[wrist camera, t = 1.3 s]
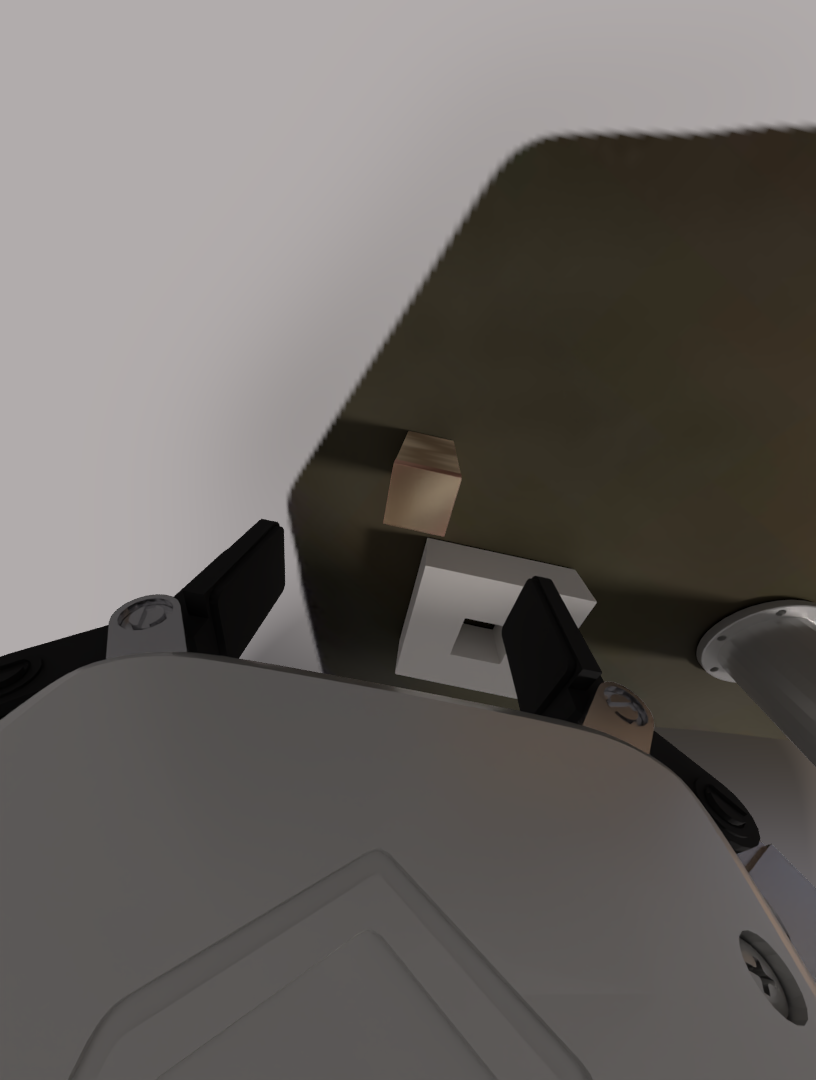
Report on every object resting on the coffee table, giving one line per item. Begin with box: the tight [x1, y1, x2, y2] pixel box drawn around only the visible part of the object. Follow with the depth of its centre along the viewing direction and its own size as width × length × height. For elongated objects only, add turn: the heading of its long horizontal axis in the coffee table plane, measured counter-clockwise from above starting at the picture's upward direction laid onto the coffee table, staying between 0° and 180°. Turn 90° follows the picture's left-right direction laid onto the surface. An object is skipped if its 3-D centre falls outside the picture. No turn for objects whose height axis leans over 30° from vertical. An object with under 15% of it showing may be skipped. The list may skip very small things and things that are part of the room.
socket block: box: [395, 538, 597, 699], centre depth 33 cm, size 16×16×5 cm
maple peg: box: [383, 431, 462, 537], centre depth 23 cm, size 4×4×10 cm
